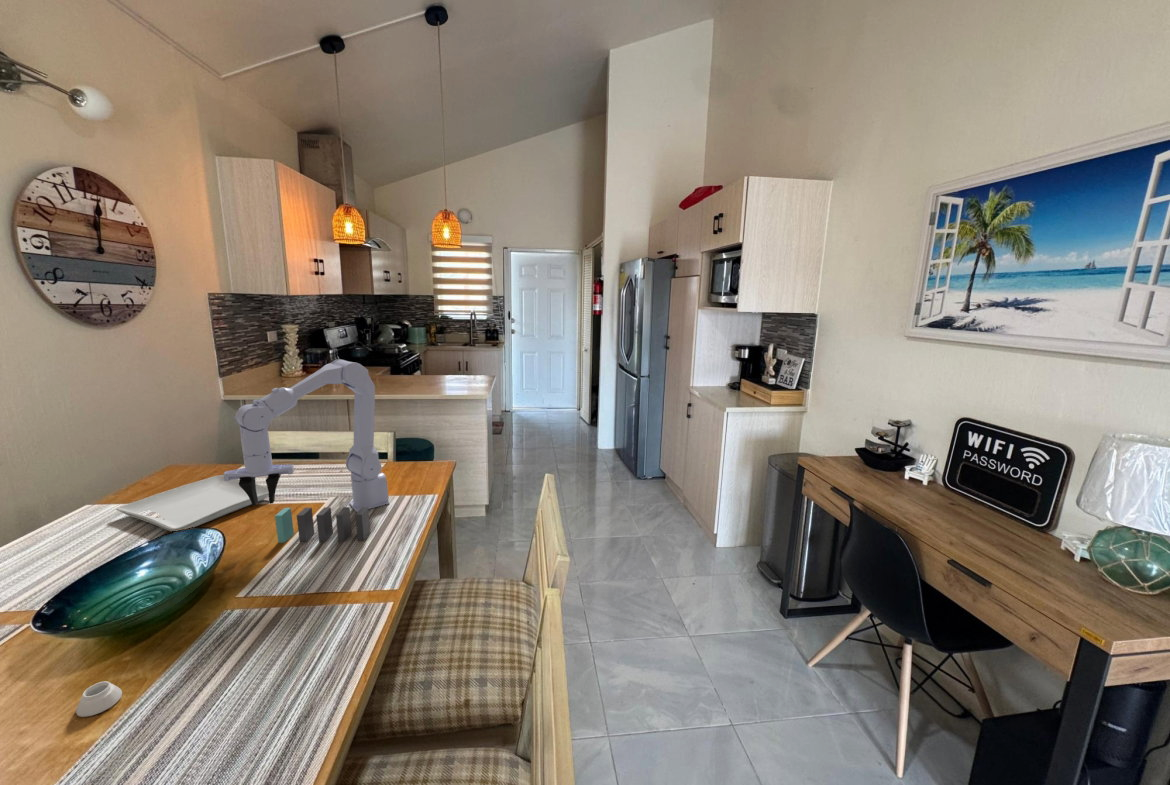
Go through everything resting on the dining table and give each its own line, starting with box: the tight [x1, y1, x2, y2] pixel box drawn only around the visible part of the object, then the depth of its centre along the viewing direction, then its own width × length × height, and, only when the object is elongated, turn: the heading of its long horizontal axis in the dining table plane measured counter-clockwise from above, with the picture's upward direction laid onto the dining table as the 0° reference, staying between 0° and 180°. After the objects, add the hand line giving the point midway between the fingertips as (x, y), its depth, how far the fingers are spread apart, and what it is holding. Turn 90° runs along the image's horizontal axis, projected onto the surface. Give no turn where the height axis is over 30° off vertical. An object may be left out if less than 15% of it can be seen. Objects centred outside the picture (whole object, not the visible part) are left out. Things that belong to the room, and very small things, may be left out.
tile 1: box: [355, 507, 371, 542], centre depth 124 cm, size 2×4×8 cm, turn 4°
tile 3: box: [315, 506, 334, 543], centre depth 123 cm, size 2×4×8 cm, turn 4°
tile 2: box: [335, 506, 353, 543], centre depth 124 cm, size 2×4×8 cm, turn 4°
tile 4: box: [296, 507, 315, 543], centre depth 123 cm, size 2×4×8 cm, turn 4°
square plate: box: [115, 474, 269, 532], centre depth 139 cm, size 27×27×4 cm
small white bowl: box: [75, 680, 123, 718], centre depth 74 cm, size 5×3×5 cm
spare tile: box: [274, 507, 295, 544], centre depth 123 cm, size 2×4×8 cm, turn 4°
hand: (263, 503), depth 121 cm, fingers open, 3 cm apart
